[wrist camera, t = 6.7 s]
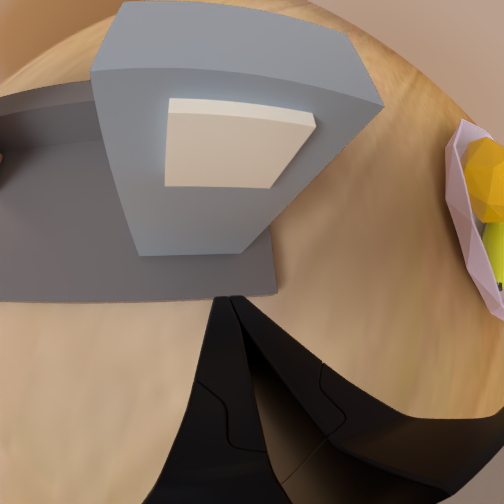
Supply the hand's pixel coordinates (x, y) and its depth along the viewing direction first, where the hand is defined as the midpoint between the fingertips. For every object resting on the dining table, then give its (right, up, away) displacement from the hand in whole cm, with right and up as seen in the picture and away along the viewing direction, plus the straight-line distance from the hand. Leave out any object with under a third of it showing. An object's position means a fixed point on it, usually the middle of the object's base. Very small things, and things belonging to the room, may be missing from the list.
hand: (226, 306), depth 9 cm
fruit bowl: (+31, +4, +21) cm, 38 cm away
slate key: (-3, +3, +8) cm, 9 cm away
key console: (-12, +5, +8) cm, 15 cm away
